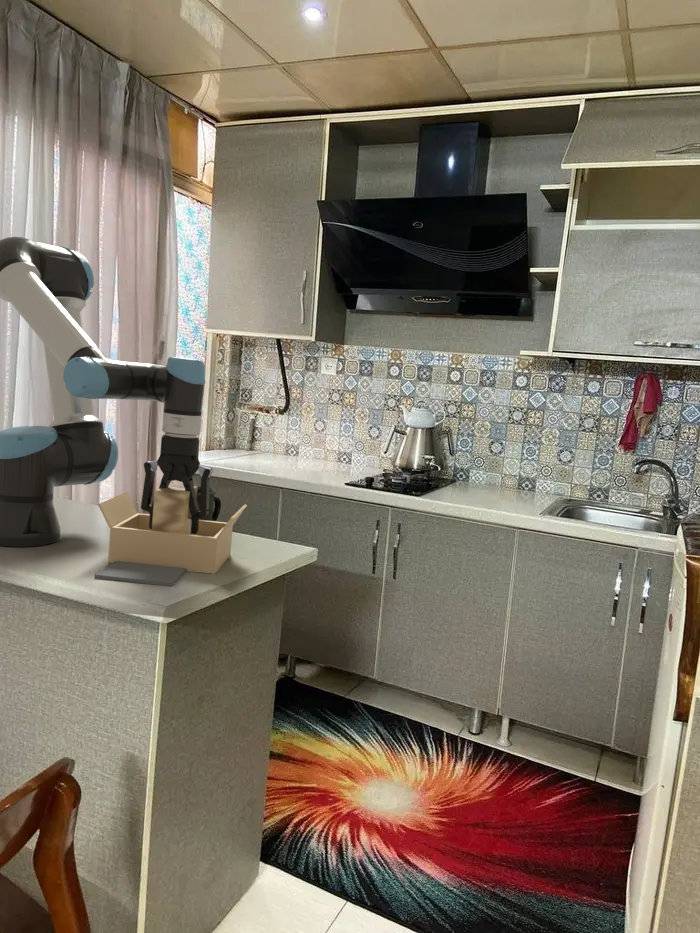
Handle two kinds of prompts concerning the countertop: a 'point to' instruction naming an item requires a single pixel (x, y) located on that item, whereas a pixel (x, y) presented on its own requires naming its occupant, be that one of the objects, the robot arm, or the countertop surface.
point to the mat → (141, 573)
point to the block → (171, 509)
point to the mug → (210, 505)
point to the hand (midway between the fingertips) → (172, 546)
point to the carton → (165, 539)
